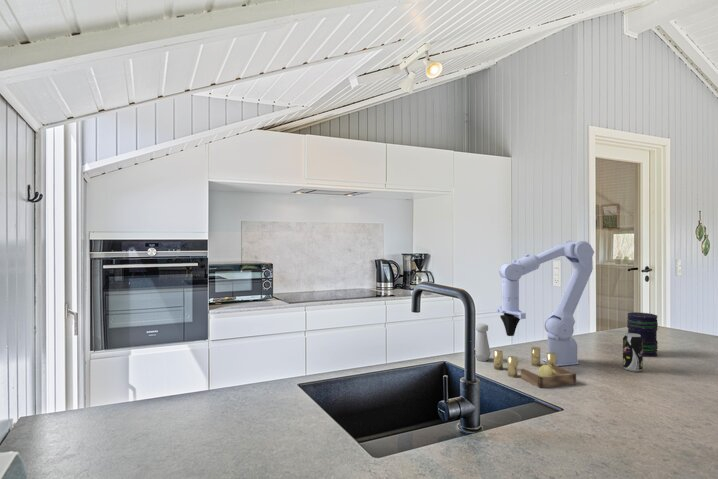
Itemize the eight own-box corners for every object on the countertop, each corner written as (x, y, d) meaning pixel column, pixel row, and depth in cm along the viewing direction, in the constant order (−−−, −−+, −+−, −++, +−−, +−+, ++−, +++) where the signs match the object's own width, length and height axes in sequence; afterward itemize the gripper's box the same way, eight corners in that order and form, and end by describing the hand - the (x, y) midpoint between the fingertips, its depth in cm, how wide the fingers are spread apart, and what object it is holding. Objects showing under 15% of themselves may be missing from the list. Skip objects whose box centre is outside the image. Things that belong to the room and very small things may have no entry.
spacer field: (536, 363, 156) (536, 346, 156) (558, 372, 146) (558, 354, 146) (492, 367, 151) (492, 350, 151) (511, 377, 141) (511, 358, 141)
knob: (549, 384, 134) (549, 368, 134) (535, 379, 139) (535, 363, 139) (560, 382, 137) (560, 366, 137) (546, 377, 141) (546, 361, 141)
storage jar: (657, 352, 170) (657, 313, 170) (658, 358, 162) (658, 318, 162) (627, 348, 175) (627, 311, 175) (626, 354, 167) (626, 315, 167)
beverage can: (639, 373, 144) (639, 337, 144) (620, 369, 149) (620, 334, 149) (645, 370, 148) (645, 334, 148) (626, 366, 152) (626, 331, 152)
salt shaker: (488, 357, 164) (488, 322, 163) (491, 362, 158) (492, 326, 158) (472, 357, 164) (472, 322, 164) (475, 361, 159) (475, 325, 158)
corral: (555, 374, 144) (555, 365, 144) (575, 383, 135) (575, 373, 135) (521, 378, 140) (521, 369, 140) (539, 387, 131) (539, 377, 131)
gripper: (489, 295, 162) (489, 331, 162) (513, 300, 148) (513, 341, 148) (505, 294, 164) (505, 330, 164) (531, 299, 150) (531, 339, 150)
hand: (510, 335), depth 156 cm, fingers closed
